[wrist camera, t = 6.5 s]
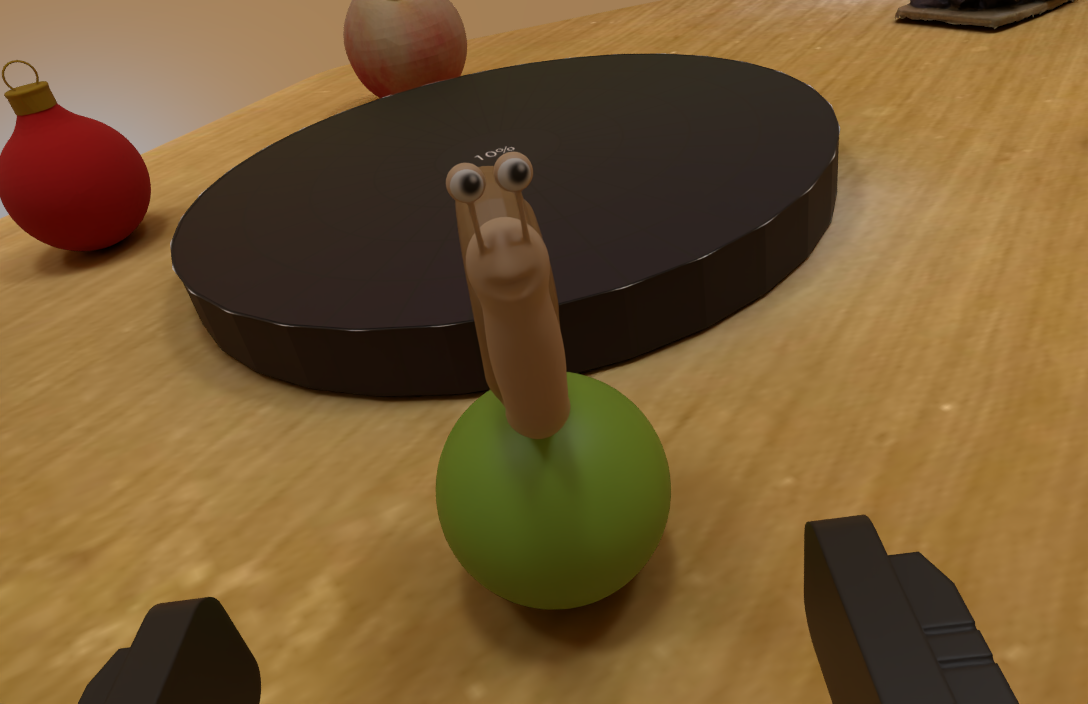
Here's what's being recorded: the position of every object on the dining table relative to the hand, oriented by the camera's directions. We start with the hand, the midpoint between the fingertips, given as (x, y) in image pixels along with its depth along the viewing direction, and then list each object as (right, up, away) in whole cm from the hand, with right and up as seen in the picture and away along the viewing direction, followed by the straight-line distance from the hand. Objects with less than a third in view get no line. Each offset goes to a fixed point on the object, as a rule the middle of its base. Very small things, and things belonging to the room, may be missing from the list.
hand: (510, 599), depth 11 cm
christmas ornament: (-24, +9, +34) cm, 42 cm away
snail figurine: (+1, -2, +9) cm, 9 cm away
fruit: (-8, +21, +47) cm, 52 cm away
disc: (-1, +10, +28) cm, 30 cm away
